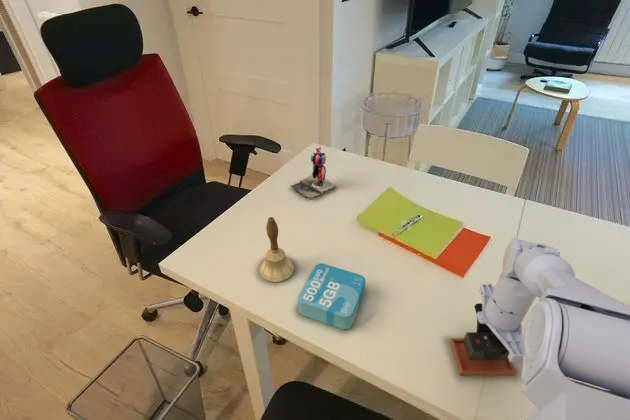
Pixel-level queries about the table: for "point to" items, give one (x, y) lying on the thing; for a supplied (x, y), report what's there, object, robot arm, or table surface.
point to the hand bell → (275, 258)
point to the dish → (478, 362)
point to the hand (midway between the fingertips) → (486, 346)
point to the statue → (315, 177)
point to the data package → (332, 296)
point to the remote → (478, 345)
